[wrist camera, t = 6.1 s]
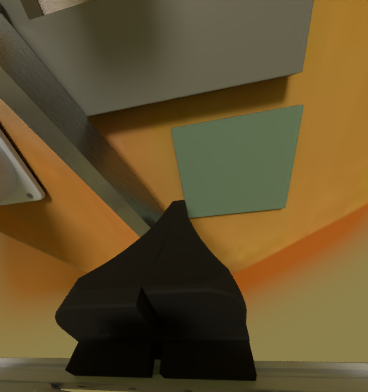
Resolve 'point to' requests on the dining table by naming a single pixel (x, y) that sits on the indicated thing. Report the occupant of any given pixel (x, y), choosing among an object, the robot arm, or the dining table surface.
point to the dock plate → (162, 46)
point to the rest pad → (237, 161)
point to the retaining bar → (70, 131)
